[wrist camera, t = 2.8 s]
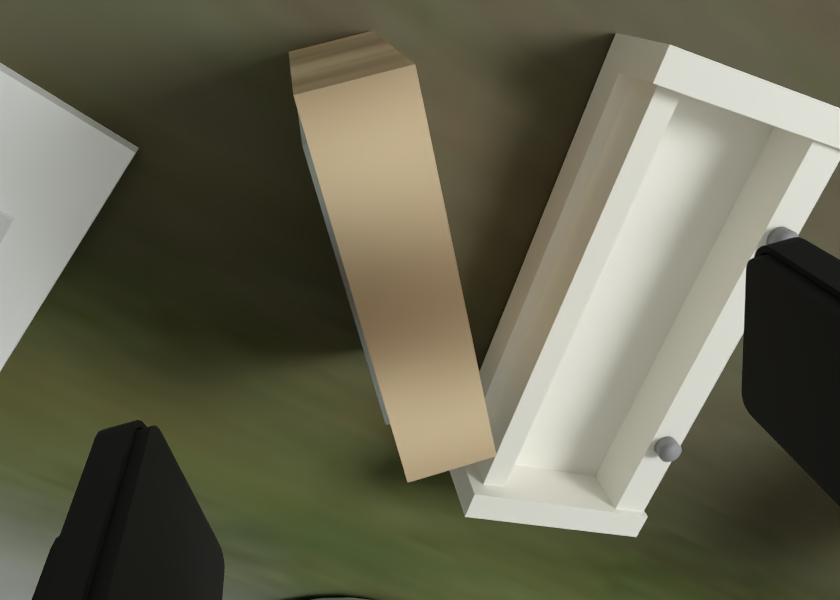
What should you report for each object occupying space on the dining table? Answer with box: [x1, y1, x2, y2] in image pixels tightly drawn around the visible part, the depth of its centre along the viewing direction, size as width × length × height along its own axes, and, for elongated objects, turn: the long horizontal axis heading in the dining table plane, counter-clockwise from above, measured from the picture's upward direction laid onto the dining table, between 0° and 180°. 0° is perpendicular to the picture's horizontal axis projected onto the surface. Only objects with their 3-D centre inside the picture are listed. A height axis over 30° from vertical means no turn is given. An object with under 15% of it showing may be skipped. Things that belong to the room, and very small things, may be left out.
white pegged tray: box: [449, 33, 840, 537], centre depth 23 cm, size 16×7×3 cm, turn 162°
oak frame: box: [288, 31, 496, 482], centre depth 19 cm, size 10×2×7 cm, turn 12°
